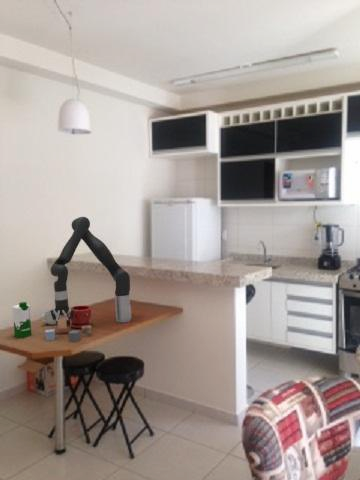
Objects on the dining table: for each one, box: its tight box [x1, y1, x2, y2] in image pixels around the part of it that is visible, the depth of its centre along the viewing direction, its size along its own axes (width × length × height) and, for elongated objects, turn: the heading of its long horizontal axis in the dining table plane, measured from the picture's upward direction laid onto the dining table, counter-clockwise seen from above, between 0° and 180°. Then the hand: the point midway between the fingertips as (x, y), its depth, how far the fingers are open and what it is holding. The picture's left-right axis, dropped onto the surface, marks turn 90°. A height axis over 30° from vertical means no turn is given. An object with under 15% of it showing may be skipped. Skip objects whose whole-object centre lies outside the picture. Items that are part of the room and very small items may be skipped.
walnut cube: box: [81, 324, 93, 338], centre depth 248 cm, size 5×5×5 cm
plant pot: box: [68, 305, 92, 329], centre depth 266 cm, size 13×13×12 cm
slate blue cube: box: [45, 328, 56, 342], centre depth 243 cm, size 5×5×5 cm
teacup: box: [40, 309, 63, 326], centre depth 274 cm, size 14×11×8 cm
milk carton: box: [11, 301, 33, 339], centre depth 250 cm, size 9×9×20 cm
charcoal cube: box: [67, 329, 82, 343], centre depth 240 cm, size 5×5×5 cm
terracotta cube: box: [57, 317, 69, 329], centre depth 253 cm, size 5×5×5 cm
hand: (63, 326), depth 253 cm, fingers closed on terracotta cube, 5 cm apart
